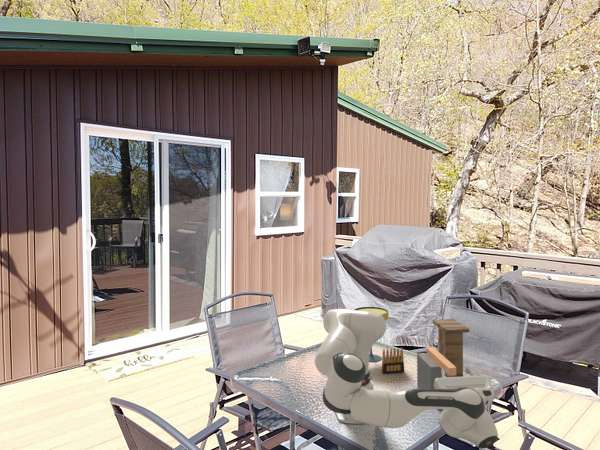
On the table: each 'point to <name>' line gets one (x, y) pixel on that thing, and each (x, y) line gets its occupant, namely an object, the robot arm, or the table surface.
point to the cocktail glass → (385, 315)
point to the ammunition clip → (392, 362)
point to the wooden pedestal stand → (451, 342)
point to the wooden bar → (441, 361)
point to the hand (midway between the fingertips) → (455, 369)
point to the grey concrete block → (427, 371)
